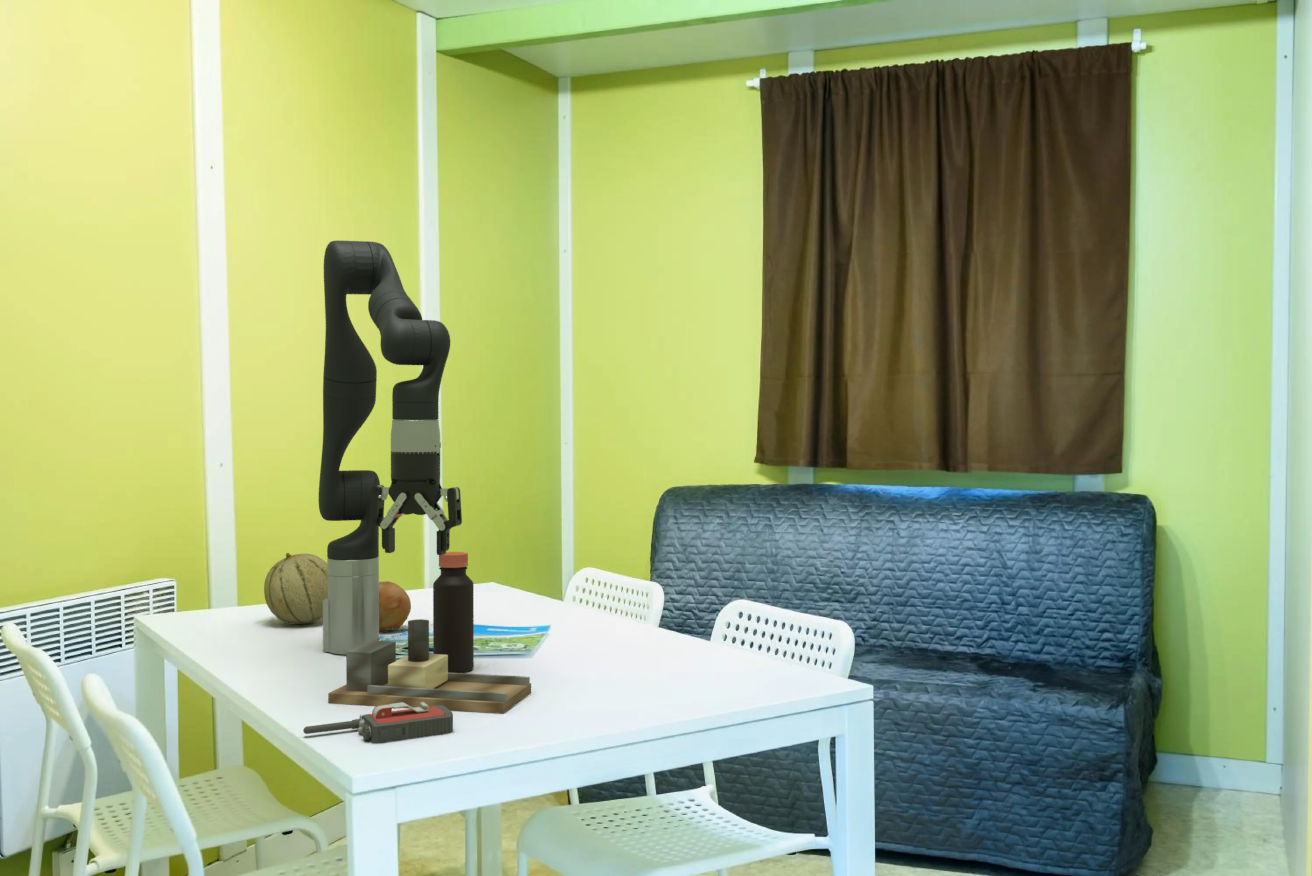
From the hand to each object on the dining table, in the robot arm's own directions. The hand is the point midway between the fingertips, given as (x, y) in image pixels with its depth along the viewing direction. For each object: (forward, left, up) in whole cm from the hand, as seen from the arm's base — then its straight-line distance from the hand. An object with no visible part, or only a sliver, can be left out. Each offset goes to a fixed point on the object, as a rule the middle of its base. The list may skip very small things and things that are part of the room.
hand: (415, 553), depth 182 cm
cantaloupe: (-48, +52, -23) cm, 74 cm away
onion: (-28, +49, -23) cm, 61 cm away
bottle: (-1, +19, -23) cm, 29 cm away
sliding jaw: (+1, 0, -20) cm, 20 cm away
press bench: (+3, 0, -22) cm, 22 cm away
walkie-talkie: (+4, -21, -23) cm, 31 cm away
